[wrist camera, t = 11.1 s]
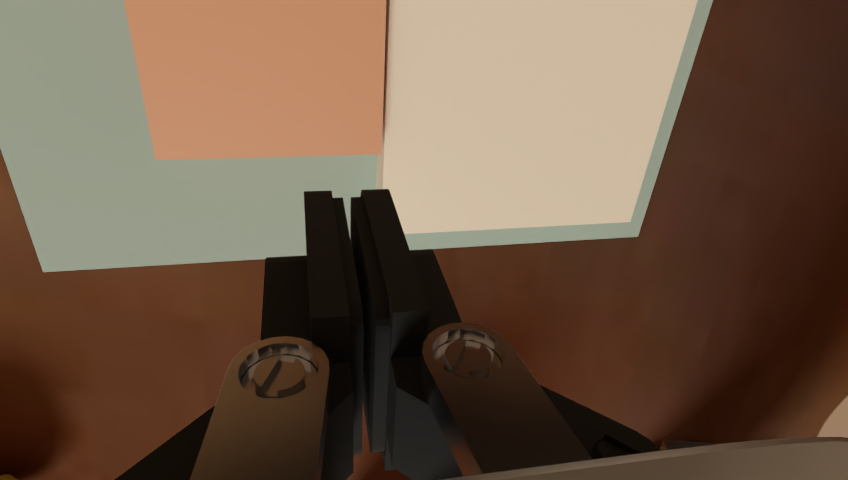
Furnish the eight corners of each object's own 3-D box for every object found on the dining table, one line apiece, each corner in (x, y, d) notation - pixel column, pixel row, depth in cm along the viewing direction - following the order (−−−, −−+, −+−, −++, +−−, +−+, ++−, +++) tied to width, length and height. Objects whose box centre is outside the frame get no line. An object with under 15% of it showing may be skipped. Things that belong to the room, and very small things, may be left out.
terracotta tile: (375, -28, 21) (387, -17, 19) (372, 129, 24) (381, 154, 22) (135, -39, 19) (118, -28, 17) (166, 133, 22) (155, 160, 20)
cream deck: (705, -126, 21) (736, -126, 20) (613, 204, 29) (630, 221, 27) (386, -158, 19) (395, -160, 17) (375, 215, 26) (380, 235, 25)
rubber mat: (766, -187, 21) (772, -187, 21) (634, 233, 30) (637, 236, 30) (-149, -304, 15) (-156, -307, 15) (45, 268, 24) (43, 271, 24)
